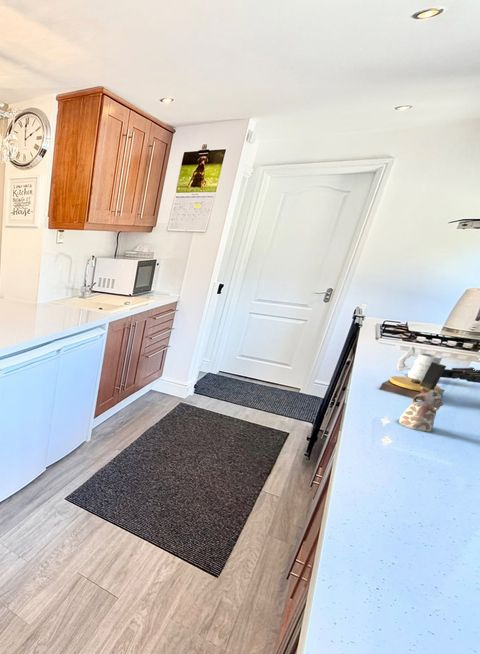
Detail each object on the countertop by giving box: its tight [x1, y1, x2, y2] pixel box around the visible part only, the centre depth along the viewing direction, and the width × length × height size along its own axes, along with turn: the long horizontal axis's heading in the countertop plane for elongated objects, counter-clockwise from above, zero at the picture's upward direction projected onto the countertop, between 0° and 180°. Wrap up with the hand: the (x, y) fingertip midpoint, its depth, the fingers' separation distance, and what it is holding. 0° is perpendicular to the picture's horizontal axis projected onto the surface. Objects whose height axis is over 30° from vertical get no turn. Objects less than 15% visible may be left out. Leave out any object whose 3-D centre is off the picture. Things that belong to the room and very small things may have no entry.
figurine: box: [398, 388, 444, 433], centre depth 121 cm, size 7×7×12 cm
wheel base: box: [379, 379, 446, 401], centre depth 150 cm, size 14×14×2 cm
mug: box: [396, 346, 443, 380], centre depth 165 cm, size 8×12×12 cm, turn 39°
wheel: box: [389, 362, 447, 392], centre depth 147 cm, size 13×13×10 cm
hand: (437, 372), depth 143 cm, fingers closed
